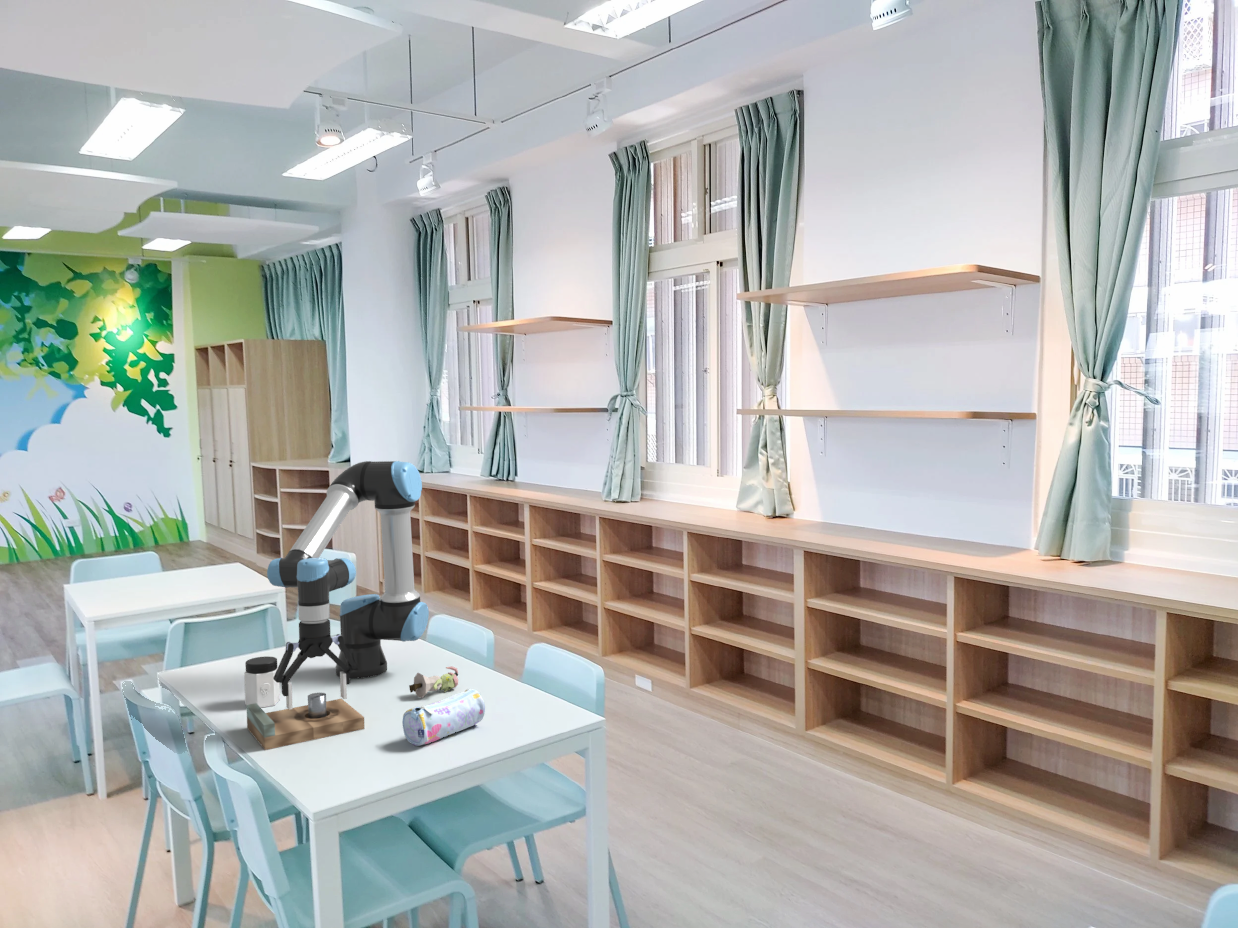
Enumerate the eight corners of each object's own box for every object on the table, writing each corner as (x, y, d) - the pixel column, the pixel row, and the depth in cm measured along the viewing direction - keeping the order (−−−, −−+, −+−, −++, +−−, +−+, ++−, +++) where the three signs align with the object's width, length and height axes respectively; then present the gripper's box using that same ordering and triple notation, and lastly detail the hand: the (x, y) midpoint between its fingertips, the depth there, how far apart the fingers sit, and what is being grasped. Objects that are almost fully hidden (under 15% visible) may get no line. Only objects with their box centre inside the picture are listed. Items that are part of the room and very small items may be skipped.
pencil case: (421, 751, 214) (420, 711, 214) (398, 742, 220) (397, 704, 219) (488, 726, 230) (487, 689, 230) (465, 719, 236) (465, 683, 235)
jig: (341, 709, 244) (341, 687, 244) (364, 728, 229) (363, 705, 229) (247, 728, 231) (246, 704, 230) (265, 749, 216) (264, 725, 215)
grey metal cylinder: (323, 721, 235) (322, 691, 234) (329, 726, 231) (328, 695, 231) (306, 725, 232) (305, 694, 232) (311, 730, 229) (310, 699, 228)
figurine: (421, 697, 248) (468, 688, 258) (417, 670, 250) (464, 662, 260) (406, 702, 254) (453, 693, 264) (402, 675, 256) (449, 667, 266)
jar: (248, 710, 244) (247, 666, 243) (242, 702, 251) (240, 659, 250) (283, 704, 249) (282, 661, 248) (276, 696, 256) (274, 654, 255)
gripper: (358, 610, 240) (360, 689, 241) (259, 624, 226) (262, 708, 227) (367, 615, 234) (370, 697, 235) (266, 630, 220) (269, 716, 221)
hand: (317, 702), depth 231 cm, fingers open, 13 cm apart
